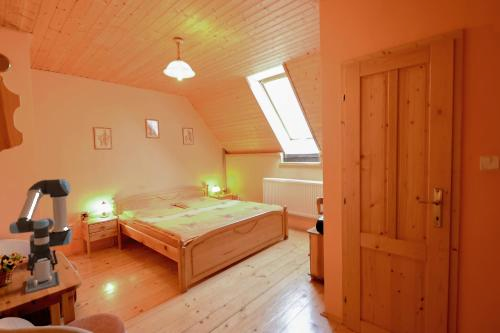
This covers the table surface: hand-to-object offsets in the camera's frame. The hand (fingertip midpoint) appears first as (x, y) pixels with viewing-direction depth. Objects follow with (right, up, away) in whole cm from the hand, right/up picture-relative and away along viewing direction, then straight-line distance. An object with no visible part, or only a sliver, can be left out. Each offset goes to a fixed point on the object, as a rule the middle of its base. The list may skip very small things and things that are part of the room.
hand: (43, 277), depth 159 cm
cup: (0, -1, 0) cm, 1 cm away
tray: (0, -3, 0) cm, 3 cm away
